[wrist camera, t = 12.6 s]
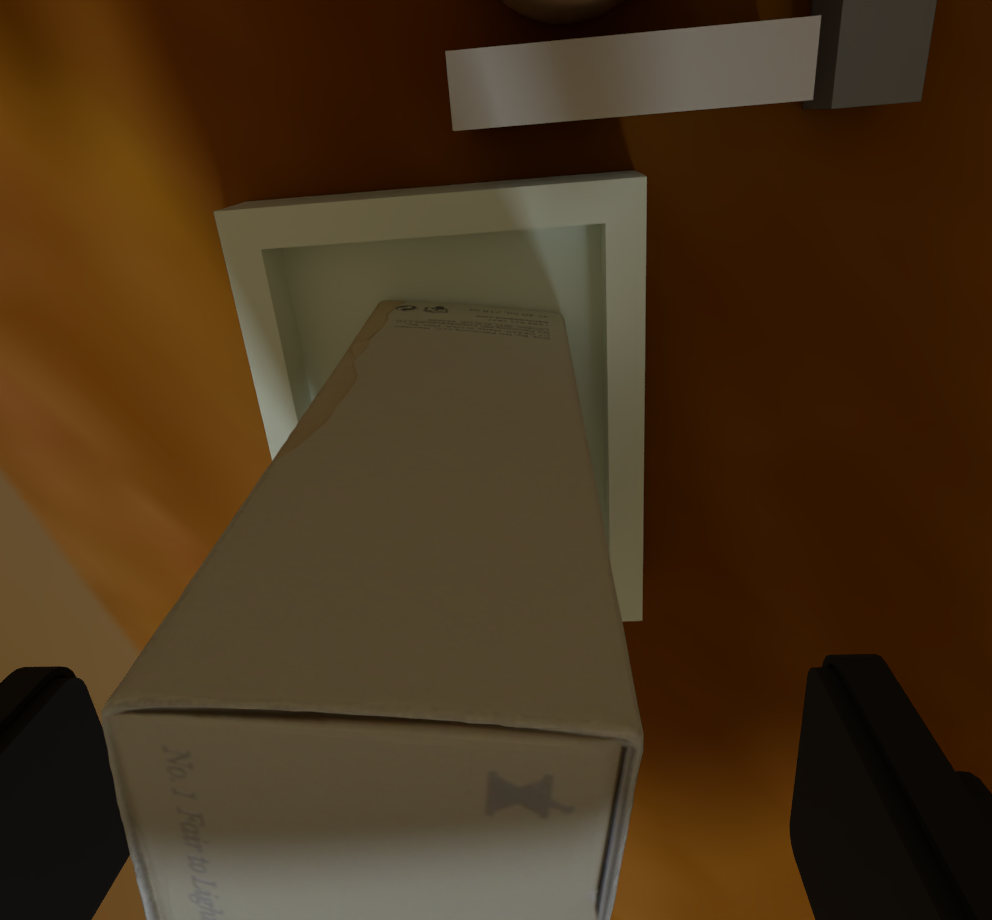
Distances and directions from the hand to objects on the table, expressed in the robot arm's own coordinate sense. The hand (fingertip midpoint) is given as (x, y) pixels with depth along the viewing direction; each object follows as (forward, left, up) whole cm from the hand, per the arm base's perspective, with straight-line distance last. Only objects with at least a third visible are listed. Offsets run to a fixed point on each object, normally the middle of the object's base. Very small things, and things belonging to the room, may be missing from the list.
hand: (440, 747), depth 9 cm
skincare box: (0, 0, -10) cm, 10 cm away
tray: (+1, -1, -10) cm, 10 cm away
